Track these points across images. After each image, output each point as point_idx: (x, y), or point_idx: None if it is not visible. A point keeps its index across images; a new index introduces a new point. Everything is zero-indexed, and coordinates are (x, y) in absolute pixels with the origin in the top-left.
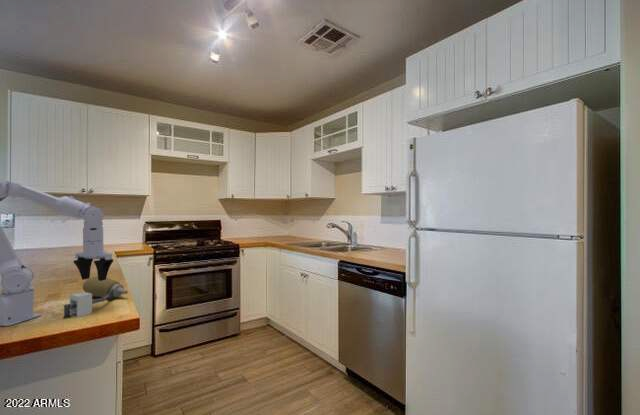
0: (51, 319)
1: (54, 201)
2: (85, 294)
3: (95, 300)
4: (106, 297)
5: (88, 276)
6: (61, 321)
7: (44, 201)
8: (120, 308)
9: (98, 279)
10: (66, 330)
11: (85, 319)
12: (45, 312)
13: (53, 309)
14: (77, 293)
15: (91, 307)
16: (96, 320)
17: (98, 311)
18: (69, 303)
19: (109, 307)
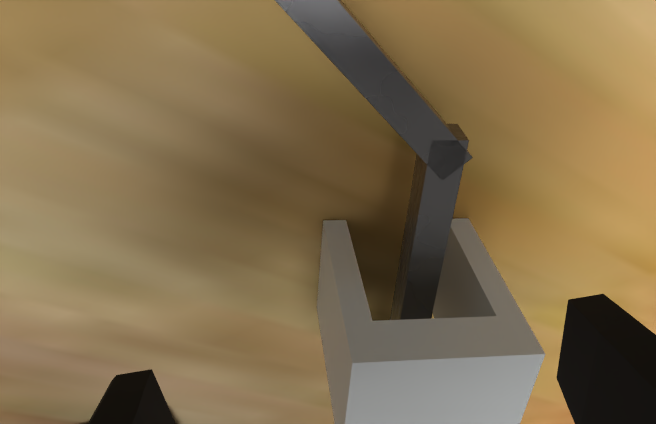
0: (319, 393)
1: None
2: (498, 393)
3: (450, 224)
4: (381, 49)
5: (153, 415)
6: None
7: None
8: (613, 6)
9: (569, 404)
10: None
11: (553, 299)
12: (74, 366)
13: (20, 314)
14: (372, 416)
15: (488, 256)
16: (652, 275)
17: (473, 165)
18: (328, 382)
19: (462, 41)
